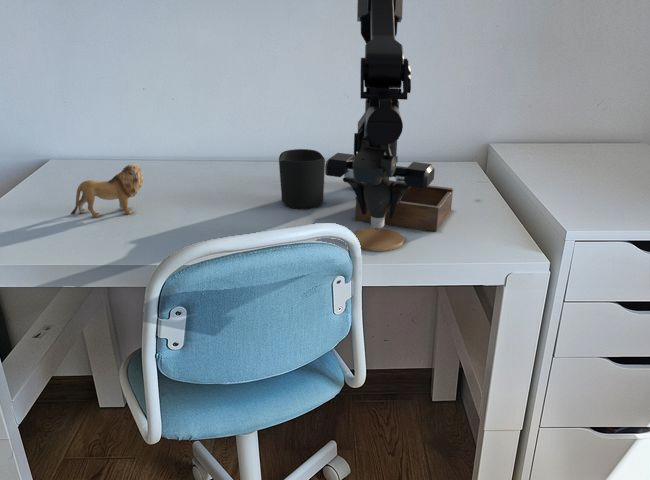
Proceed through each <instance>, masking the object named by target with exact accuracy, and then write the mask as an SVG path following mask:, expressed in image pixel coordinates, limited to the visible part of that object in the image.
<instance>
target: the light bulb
mask: <svg viewBox="0 0 650 480" xmlns="http://www.w3.org/2000/svg"><path fill="white" fill-rule="evenodd" d="M390 180H391V179H390V178H389V179H388V178H386V177H385V178H382V181H381V183H380V184H378V185H372V184H370V183H366V184H365V186H364V190H363V194H364V199H365V201H366V203H367V205H368V207H369V210H370V215H371V222H370V227H371V228H375V230H380V228H383V227H384V226H385V224H384V219H385V215H386V211H387V209H388V207H389V205H390V204H391V198H392V188H391V186H392V185H393V184H392V182H391V181H392V180H391V181H390Z"/></svg>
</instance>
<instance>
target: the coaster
mask: <svg viewBox="0 0 650 480" xmlns="http://www.w3.org/2000/svg"><path fill="white" fill-rule="evenodd" d="M352 233H354V234H355V235H356V237H357V238H358V240H359V242H360V245H361V248H360V249H361V250H365V251H371V252H372V251H373V252H384V251H392V250H395V249H399V248H400V247H401V246H403V244H404V240H405V239H404V236H403V235H402V234H401V233H400V232H398V231H396V230H392V229H389V228H383V227H382V228H380V230H375V228H373V227H367V228H362V229H358V230H355V231H353V232H352Z"/></svg>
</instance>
